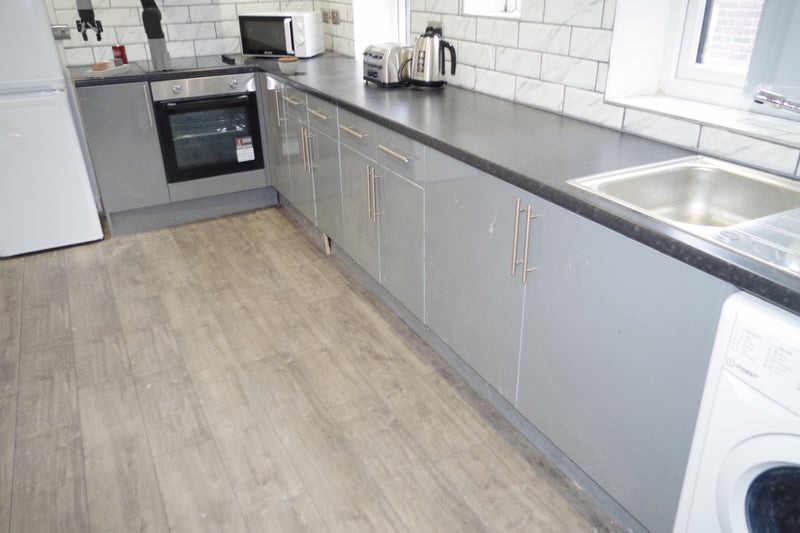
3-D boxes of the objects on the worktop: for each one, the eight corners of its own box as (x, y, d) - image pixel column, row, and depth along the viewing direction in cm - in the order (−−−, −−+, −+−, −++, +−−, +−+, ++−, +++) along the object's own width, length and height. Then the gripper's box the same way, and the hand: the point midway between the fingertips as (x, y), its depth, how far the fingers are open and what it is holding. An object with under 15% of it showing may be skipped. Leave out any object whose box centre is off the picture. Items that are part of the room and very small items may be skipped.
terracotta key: (107, 70, 329) (105, 62, 327) (101, 71, 325) (99, 64, 323) (99, 69, 330) (97, 62, 328) (93, 71, 326) (91, 63, 324)
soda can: (120, 67, 356) (115, 46, 351) (113, 66, 360) (108, 45, 355) (131, 65, 361) (126, 44, 356) (124, 64, 365) (120, 44, 360)
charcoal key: (123, 66, 341) (121, 58, 339) (117, 67, 337) (116, 60, 335) (115, 65, 342) (114, 58, 340) (110, 67, 338) (108, 59, 336)
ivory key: (115, 68, 335) (113, 60, 333) (109, 69, 331) (107, 62, 329) (107, 67, 336) (106, 60, 334) (101, 69, 332) (100, 61, 330)
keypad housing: (131, 70, 344) (130, 64, 343) (103, 78, 323) (101, 71, 322) (116, 70, 346) (114, 64, 345) (87, 77, 326) (85, 71, 324)
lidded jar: (275, 74, 323) (273, 56, 319) (287, 71, 331) (286, 53, 327) (291, 75, 318) (289, 57, 314) (303, 72, 327) (302, 54, 322)
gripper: (101, 7, 315) (108, 40, 323) (79, 7, 319) (86, 39, 326) (91, 8, 309) (99, 42, 316) (68, 8, 312) (76, 41, 320)
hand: (92, 40), depth 321 cm, fingers open, 8 cm apart
